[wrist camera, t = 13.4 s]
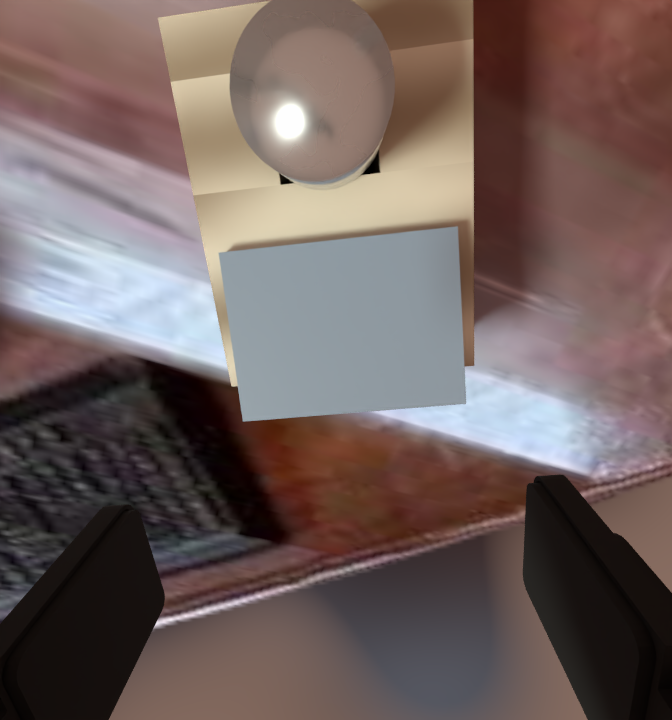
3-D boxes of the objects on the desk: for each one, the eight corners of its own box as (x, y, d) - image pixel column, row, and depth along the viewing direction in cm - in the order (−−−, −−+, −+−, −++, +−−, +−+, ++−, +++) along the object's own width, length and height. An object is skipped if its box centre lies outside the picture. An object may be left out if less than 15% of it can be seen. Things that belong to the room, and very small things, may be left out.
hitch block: (203, 66, 24) (158, 18, 19) (443, 31, 23) (473, -31, 18) (254, 355, 30) (231, 386, 24) (450, 337, 29) (474, 365, 23)
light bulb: (271, 93, 24) (214, 2, 14) (374, 79, 24) (389, -25, 14) (286, 202, 26) (245, 189, 16) (381, 191, 26) (399, 170, 16)
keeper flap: (223, 253, 22) (218, 252, 21) (454, 228, 21) (457, 226, 20) (246, 416, 23) (243, 421, 22) (462, 399, 22) (466, 403, 22)
